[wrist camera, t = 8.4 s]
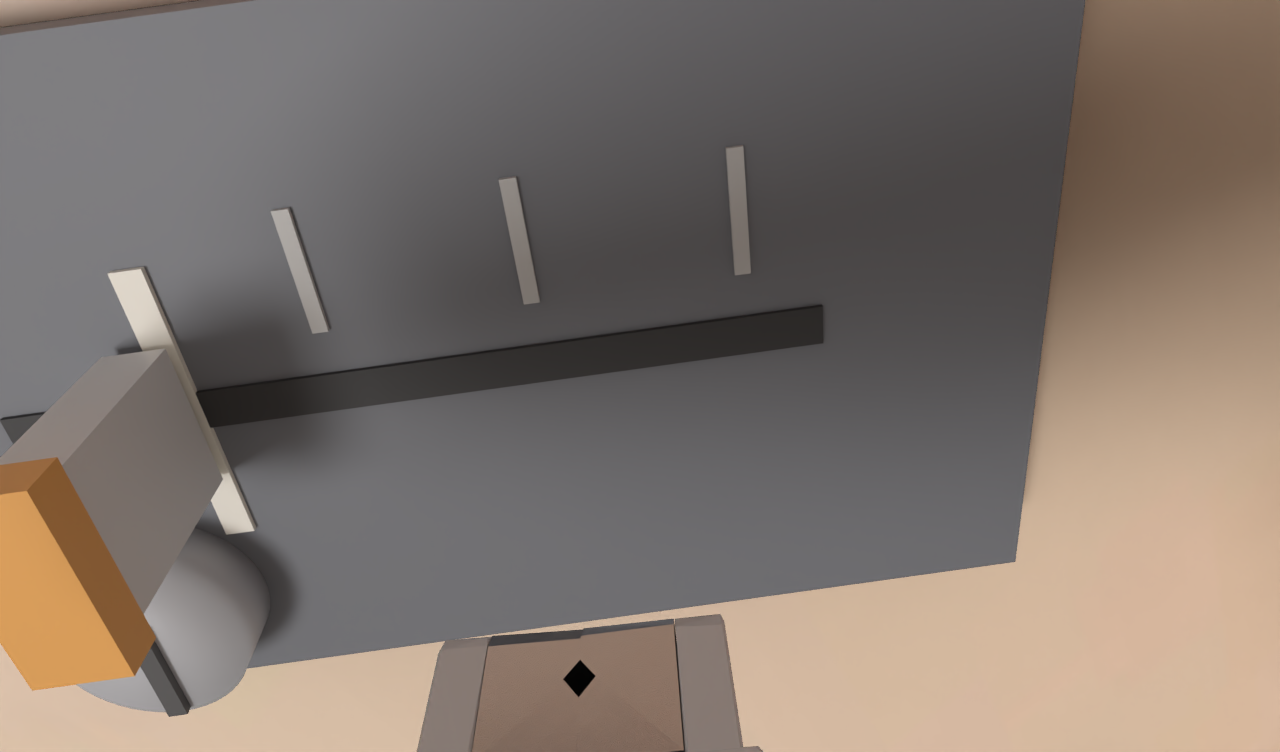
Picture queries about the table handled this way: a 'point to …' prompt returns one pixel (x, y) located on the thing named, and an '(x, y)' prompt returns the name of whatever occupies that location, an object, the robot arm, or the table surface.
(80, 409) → the fader
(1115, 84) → the table surface
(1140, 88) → the table surface
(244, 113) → the console
